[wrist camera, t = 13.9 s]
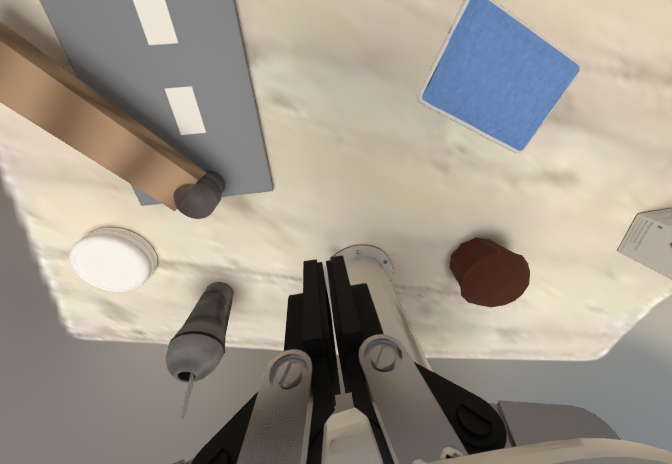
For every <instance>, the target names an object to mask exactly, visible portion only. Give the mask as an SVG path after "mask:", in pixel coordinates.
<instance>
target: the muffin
mask: <svg viewBox="0 0 672 464" xmlns="http://www.w3.org/2000/svg"><path fill="white" fill-rule="evenodd" d="M450 268H451V270H452V272H453V274H454V276H455V278H456V280H457V281H458V283H459V285H460V287H461V296H462V297H463V298H464V299H465V300H466V301H468V302H469V303H473V304H476V305H481V306H487V307H496V306H502V305H506V304H508V303H511V302H513V301H515V300H516V299H517V298H519V297H520V296H521V295H522V294H523V293H524V291H525V290H526V288H527V287H528V285H529V279H530V270H529V266H528V263H527V261H526V260H525V259H524V257H523V256H522V255H519V254H515V253H513V252H511V251H509V250H508V249H506V248H504V247H502V246H500V245H498V244H496V243H494V242H492V241H491V240H486V239H479V238H475V239H473V240H470V241H468V242H465V243H462V244H461V245H460V246H459V248H458V249H457V250H456V251H455V252H454V253H453V254H452V255H451V263H450Z"/></svg>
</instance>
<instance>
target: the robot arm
mask: <svg viewBox="0 0 672 464" xmlns="http://www.w3.org/2000/svg"><path fill="white" fill-rule="evenodd" d="M326 265H327V266H326V269H325V273H324V270H323V264H322V262H318V263H317V259H316V260H309V261H304V270H303V293H301V294H295V295H289V298H288V308H287V320H286V332H285V344H284V352H282V353H279V354H278V355H277V356H275V357H274V358H273V359H272V360H271V361H270V362H269V364H268V365H267V367H266V369H265V372H264V375H263V378H262V382H261V385H260V389H259V391H258V392H257V393H256V394H255V395H254V396H253V397H252V398H251V399H250V400H249V401H248V402H247V403H246V404H245V405H244V406H243V407H242V408H241V409H240V410H239V411H238V412H237V413H236V414H235V415H234V417H233V418H232V419H231V420H230V421H229V422H228V423H227V424H226V425H225V426H224V427H223V428H222V429H221V430H220V431H219V432H218V433H217V434H216V435H215V436H214V437H213V438H212V439H211V440H210V441H209V442H208V443H207V444H206V445H205V446H204V447H203V448H202V449H201V451H200V452H199V453H198V454H197V455H196V457H195V458H194V459H192V460H189V461H187V462H186V461H185V460H184V459H183V460H180V461H178V462H176V463H174V464H672V452H670V451H667V450H663V449H660V448H656V447H652V446H649V445H645V444H640V443H635V442H629V441H623V440H621V439H620V438H619V436H618V435H617V434H616V433H615V432H614V430H613V429H612V428H611V427H610V426H609V425H608V424H607V423H606V422H605V421H603V420H602V419H601V418H600V417H598V416H597V415H596V414H594V413H592V412H590V411H587V410H586V409H584V408H580V407H575V406H571V405H557V404H543V403H528V402H513V401H500V400H499V401H498V404H493V403H492V404H491V403H487V402H486V401H484V400H483V399H482V398H480V397H478V396H476V395H475V394H473V393H471V392H469V391H467V390H465V389H464V388H462V387H460V386H458V385H456V384H454V383H452V382H451V381H449V380H447V379H445V378H443V377H441V376H439V375H438V374H436V373H434V372H433V371H432V369H431V367H430V366H429V364H428V361H427V359H426V357H425V355H424V353H423V351H422V349H421V347H420V345H419V343H418V341H417V338H416V336H415V334H414V332H413V330H412V328H411V325H410V323H409V321H408V319H407V317H406V315H405V313H404V310H403V308H402V306H401V304H400V302H399V300H398V298H397V295H396V293H395V291H394V289H393V287H392V285H391V280H392V276H393V267H392V264H391V261H390V259H389V258H388V256H387V255H386V254H385V253H384V252H383V251H381V250H380V249H377V248H375V247H372V246H365V245H360V246H353V247H349V248H347V249H344V250H342V251H341V252H339V253H337V254H336V255H335V256H334V257H331V260H330V261H326ZM327 290H328V291H329V293H330V296H331V304H332V312H333V320H334V327H335V334H336V341H337V347H338V353H339V358H340V364H341V370H342V375H343V381H344V387H345V393H350V392H352V398H353V403H354V407H355V408H353V409H350V410H346V411H343V412H340V413H337V414H334V415H332V413H333V412H334V410H335V408H334V406H336V402H335V395H338V394H340V384H339V376H338V368H337V359H336V351H335V343H334V334H333V326H332V318H331V311H330V305H329V299H328V293H327Z"/></svg>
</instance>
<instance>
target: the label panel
mask: <svg viewBox="0 0 672 464" xmlns="http://www.w3.org/2000/svg"><path fill="white" fill-rule="evenodd" d="M40 2H41V4H42V6H43V8H44V10H45V12H46V14H47V16H48V18H49V20H50V22H51V24H52V26H53V28H54V30H55V32H56V34H57V36H58V38H59V41H60V43H61V45H62V47H63V49H64V51H65V53H66V55H67V57H68V59H69V61H70V63H71V65H72V67H73V69H74V71H75V73H76V75H77V77H78V79H79V80H81V81H82V82H83V83H85V84H86V85H88V86H89V87H90V88H92V89H93V90H94V91H96V92H97V93H98V94H100V95H101V96H103V97H104V98H105V99H107V100H108V101H109V102H111V103H112V104H114V105H115V106H116V107H118V108H119V109H120V110H122V111H123V112H124V113H126V114H127V115H129V116H130V117H131V118H133V119H134V120H135V121H137V122H138V123H140V124H141V125H142V126H144V127H145V128H146V129H148V130H149V131H150V132H152V133H153V134H155V135H156V136H157V137H159V138H160V139H161V140H163V141H164V142H166V143H167V144H168V145H170V146H171V147H172V148H174V149H175V150H176V151H178V152H179V153H181V154H182V155H183V156H185V157H186V158H187V159H189V160H190V161H192V162H193V163H194V164H196V165H197V166H198V167H200V168H201V169H202V170H204V171H205V172H207V173H206V174H205V176H206V177H209V178H211V179H212V180H214V181H215V182H216V183H217V184H218V186H219V187H220V190H221V194H222V196H221V197H224V196H233V195H242V194H251V193H260V192H269V191H273V183H272V178H271V173H270V169H269V164H268V159H267V154H266V149H265V144H264V140H263V135H262V130H261V125H260V120H259V116H258V111H257V106H256V101H255V96H254V91H253V87H252V82H251V77H250V72H249V67H248V62H247V58H246V53H245V48H244V43H243V38H242V33H241V29H240V24H239V19H238V14H237V9H236V4H235V0H40ZM131 186H132V188H133V190H134V192H135V194H136V196H137V198H138V200H139V202H140V204H141V206H144V205H153V204H162V203H161V202H159V201H158V200H156V199H154V198H153V197H151V196H150V195H148V194H146V193H145V192H143V191H142V190H140V189H138V188H137V187H135V186H134V185H132V184H131Z"/></svg>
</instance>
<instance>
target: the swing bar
mask: <svg viewBox="0 0 672 464" xmlns="http://www.w3.org/2000/svg"><path fill="white" fill-rule="evenodd" d="M0 102H1V103H2V104H4V105H6V106H7V107H9V108H10V109H12V110H14V111H15V112H17V113H18V114H20V115H22V116H23V117H25V118H26V119H28V120H30V121H31V122H33V123H34V124H36V125H38V126H39V127H41V128H42V129H44V130H46V131H47V132H49V133H50V134H52V135H54V136H55V137H57V138H58V139H60V140H62V141H63V142H65V143H66V144H68V145H70V146H71V147H73V148H74V149H76V150H78V151H79V152H81V153H82V154H84V155H86V156H87V157H89V158H90V159H92V160H94V161H95V162H97V163H98V164H100V165H102V166H103V167H105V168H106V169H108V170H110V171H111V172H113V173H114V174H116V175H118V176H119V177H121V178H122V179H124V180H126V181H127V182H129V183H130V184H132V185H134V186H135V187H137V188H138V189H140V190H142V191H143V192H145V193H146V194H148V195H150V196H151V197H153V198H154V199H156V200H158V201H159V202H161V203H162V204H164V205H166V206H167V207H169V208H170V209H172V210H174V211H175V210H176V209H178V210H179V211H180V212H181V213H183V214H184V215H186V216H188V217H191V218H195V219H201V218H205V217H207V216H209V215H210V214H211V213H212V212H213V210H214V209H215V208H216V206H217V205H218V203H219V202H220V200H221V196H222V194H221V190H220V187H219V186H218V184H217V183H216V182H215V181H214V180H212V179H211V178H209V177H206V176H205V174H206V173H207V172H205V171H204V170H202V169H201V168H200V167H198V166H197V165H196V164H194V163H193V162H192V161H190V160H189V159H187V158H186V157H185V156H183V155H182V154H181V153H179V152H178V151H176V150H175V149H174V148H172V147H171V146H170V145H168V144H167V143H166V142H164V141H163V140H161V139H160V138H159V137H157V136H156V135H155V134H153V133H152V132H150V131H149V130H148V129H146V128H145V127H144V126H142V125H141V124H140V123H138V122H137V121H135V120H134V119H133V118H131V117H130V116H129V115H127V114H126V113H124V112H123V111H122V110H120V109H119V108H118V107H116V106H115V105H114V104H112V103H111V102H109V101H108V100H107V99H105V98H104V97H103V96H101V95H100V94H98V93H97V92H96V91H94V90H93V89H92V88H90V87H89V86H88V85H86V84H85V83H83V82H82V81H81V80H79V79H78V78H77V77H75V76H74V75H72V74H71V73H70V72H68V71H67V70H66V69H64V68H63V67H61V66H60V65H59V64H57V63H56V62H55V61H53V60H52V59H51V58H49V57H48V56H46V55H45V54H44V53H42V52H41V51H40V50H38V49H37V48H35V47H34V46H33V45H31V44H30V43H29V42H27V41H26V40H25V39H23V38H22V37H20V36H19V35H18V34H16V33H15V32H14V31H12V30H11V29H9V28H8V27H7V26H5V25H4V24H3V23H1V22H0Z"/></svg>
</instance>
